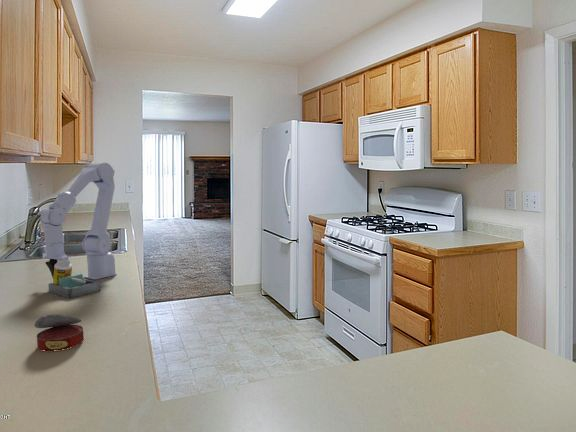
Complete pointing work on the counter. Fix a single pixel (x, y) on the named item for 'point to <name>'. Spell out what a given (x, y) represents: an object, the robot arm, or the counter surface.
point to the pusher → (72, 281)
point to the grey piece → (75, 289)
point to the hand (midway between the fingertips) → (57, 280)
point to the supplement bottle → (61, 270)
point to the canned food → (58, 332)
